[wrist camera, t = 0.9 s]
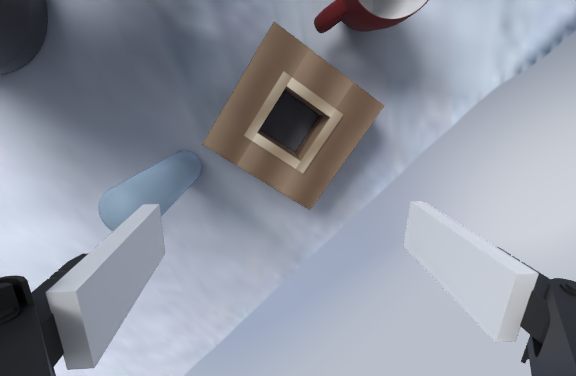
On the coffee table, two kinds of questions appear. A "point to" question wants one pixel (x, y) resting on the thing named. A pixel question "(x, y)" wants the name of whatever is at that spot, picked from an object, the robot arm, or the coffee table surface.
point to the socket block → (311, 92)
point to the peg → (150, 188)
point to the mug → (366, 13)
